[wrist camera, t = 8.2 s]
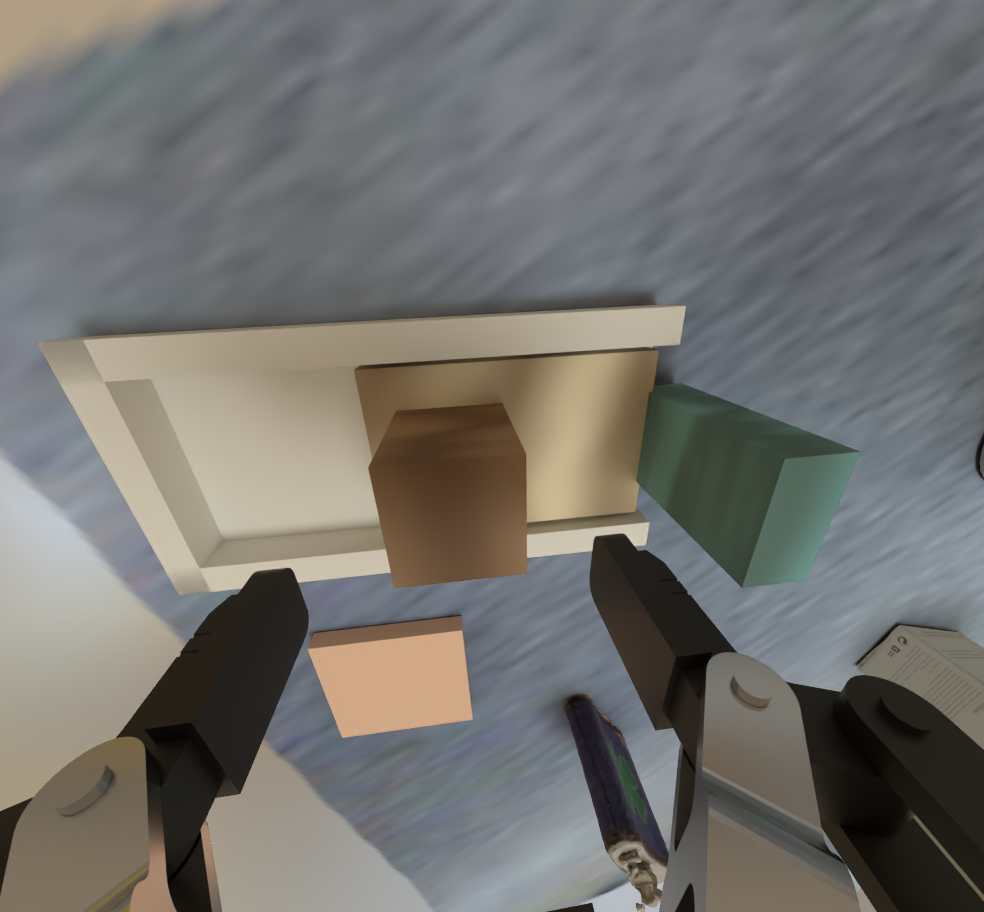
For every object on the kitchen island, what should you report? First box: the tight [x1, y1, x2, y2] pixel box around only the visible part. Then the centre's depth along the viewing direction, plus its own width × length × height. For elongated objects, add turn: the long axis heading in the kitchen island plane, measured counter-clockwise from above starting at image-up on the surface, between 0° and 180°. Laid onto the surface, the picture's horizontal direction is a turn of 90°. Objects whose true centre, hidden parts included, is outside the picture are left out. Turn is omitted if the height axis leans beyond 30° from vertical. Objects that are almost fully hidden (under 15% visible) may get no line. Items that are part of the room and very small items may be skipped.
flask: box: [564, 694, 669, 912], centre depth 27 cm, size 9×3×11 cm, turn 32°
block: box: [368, 403, 527, 588], centre depth 15 cm, size 5×5×6 cm
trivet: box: [308, 616, 473, 738], centre depth 26 cm, size 10×10×1 cm
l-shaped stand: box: [354, 347, 860, 588], centre depth 15 cm, size 16×9×9 cm, turn 92°
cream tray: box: [37, 305, 686, 595], centre depth 18 cm, size 26×13×2 cm, turn 92°
